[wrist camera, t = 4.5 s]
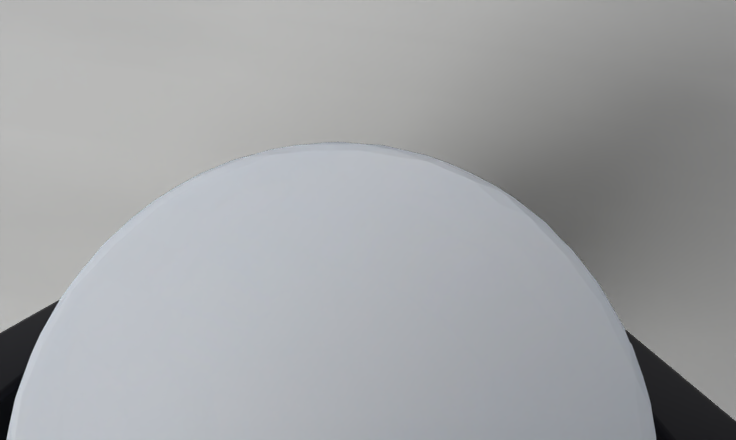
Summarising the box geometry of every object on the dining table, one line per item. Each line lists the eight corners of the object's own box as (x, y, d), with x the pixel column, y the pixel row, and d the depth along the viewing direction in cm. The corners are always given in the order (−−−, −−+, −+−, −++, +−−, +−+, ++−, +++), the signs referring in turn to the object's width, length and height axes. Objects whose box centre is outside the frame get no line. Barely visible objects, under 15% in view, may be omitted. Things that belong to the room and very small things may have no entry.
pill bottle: (499, 302, 16) (858, 171, 5) (431, 552, 15) (720, 1239, 3) (273, 229, 16) (99, -64, 5) (185, 467, 15) (-346, 824, 4)
